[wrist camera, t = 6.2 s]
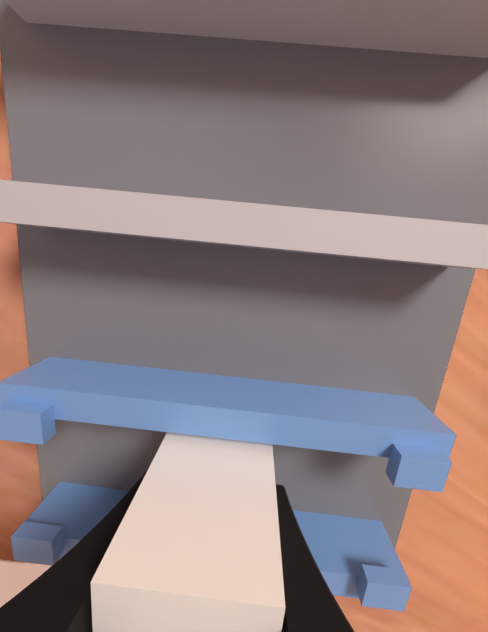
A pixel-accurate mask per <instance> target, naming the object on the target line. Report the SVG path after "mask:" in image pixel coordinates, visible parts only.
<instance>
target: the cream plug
mask: <svg viewBox="0 0 488 632" xmlns="http://www.w3.org/2000/svg"><path fill="white" fill-rule="evenodd" d="M91 605H92V629H93V632H281V631H282V625H283V620H284V614H285V595H284V583H283V570H282V558H281V545H280V533H279V520H278V508H277V495H276V483H275V470H274V458H273V445H272V444H265V443H256V442H247V441H239V440H230V439H222V438H213V437H204V436H196V435H187V434H179V433H170V432H167V434H166V436H165V437H164V439H163V441H162V443H161V445H160V447H159V449H158V451H157V453H156V455H155V457H154V459H153V461H152V463H151V465H150V467H149V469H148V471H147V473H146V475H145V477H144V479H143V481H142V483H141V484H140V486H139V488H138V490H137V492H136V494H135V496H134V498H133V500H132V502H131V504H130V506H129V508H128V510H127V512H126V514H125V516H124V518H123V520H122V522H121V524H120V526H119V528H118V530H117V531H116V533H115V535H114V537H113V539H112V541H111V543H110V545H109V547H108V549H107V551H106V553H105V555H104V557H103V559H102V561H101V563H100V565H99V567H98V569H97V571H96V573H95V575H94V577H93V578H92V580H91Z"/></svg>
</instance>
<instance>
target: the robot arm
mask: <svg viewBox="0 0 488 632" xmlns="http://www.w3.org/2000/svg"><path fill="white" fill-rule="evenodd" d="M147 471H148V470H147ZM147 471H146V472H145V473H144V474H143V475H142V477H141V478H140V479H139V480H138V481H137V482H136V484H135V485H134V486H133V487H132V488H131V489H130V490H129V491H128V492H127V494H126V495H125V496H124V497H123V498H122V499H121V500H120V501H119V502H118V503H117V504H116V505H115V506H114V507H113V508H112V510H111V511H110V512H109V513H108V514H107V515H106V516H105V517H104V518H103V519H102V520H101V521H100V522H99V523H98V524H97V525H96V526H95V527H94V528H93V529H92V530H91V531H90V532H89V533H88V534H86V535H85V536H84V537H83V538H82V539H81V540H80V541H79V542H78V543H77V544H76V545H75V546H74V547H73V548H72V549H71V550H70V551H68V552H67V553H66V554H65V555H64V556H63V557H62V558H61V559H59V560H58V561H57V562H56V563H55V564H54V565H53V566H51V567H50V568H49V569H48V570H47V571H46V572H44V573H43V574H42V575H41V576H40V577H38V578H37V579H36V580H35V581H34V582H32V583H31V584H30V585H28V586H27V587H26V588H25V589H24V590H22V591H21V592H20V593H19V594H17V595H16V596H15V597H14V598H12V599H11V600H10V601H8V602H7V603H6V604H5V605H3V606H2V607H1V608H0V632H93V629H92V605H91V580H92V578H93V577H94V575H95V573H96V571H97V569H98V567H99V565H100V563H101V561H102V559H103V557H104V555H105V553H106V551H107V549H108V547H109V545H110V543H111V541H112V539H113V537H114V535H115V533H116V531H117V530H118V528H119V526H120V524H121V522H122V520H123V518H124V516H125V514H126V512H127V510H128V508H129V506H130V504H131V502H132V500H133V498H134V496H135V494H136V492H137V490H138V488H139V486H140V484H141V483H142V481H143V479H144V477H145V475H146V473H147ZM276 495H277V508H278V520H279V533H280V545H281V558H282V570H283V583H284V595H285V614H284V620H283V625H282V631H281V632H354V630H353V629H352V627H351V625H350V624H349V622H348V621H347V619H346V617H345V615H344V614H343V612H342V610H341V609H340V607H339V605H338V603H337V602H336V600H335V598H334V596H333V594H332V593H331V591H330V589H329V587H328V585H327V583H326V581H325V580H324V578H323V576H322V574H321V572H320V570H319V568H318V566H317V564H316V562H315V560H314V558H313V556H312V554H311V552H310V549H309V547H308V545H307V543H306V541H305V538H304V536H303V534H302V532H301V530H300V527H299V525H298V522H297V520H296V517H295V515H294V512H293V510H292V507H291V505H290V502H289V499H288V496H287V493H286V490H285V487H284V486H283V485H277V484H276Z"/></svg>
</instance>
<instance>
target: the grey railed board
mask: <svg viewBox="0 0 488 632" xmlns="http://www.w3.org/2000/svg"><path fill="white" fill-rule="evenodd" d="M0 52H1V63H2V74H3V84H4V95H5V106H6V117H7V127H8V138H9V149H10V160H11V170H12V181H9V180H0V222H2V223H10V224H17V235H18V246H19V257H20V267H21V278H22V289H23V300H24V310H25V321H26V332H27V343H28V353H29V364H30V367H28V368H26V369H24V370H22V371H20V372H18V373H16V374H14V375H12V376H10V377H8V378H6V379H4V380H2V381H0V440H7V441H15V442H24V443H32V444H37V450H38V461H39V472H40V483H41V493H42V502H41V504H40V505H39V506H38V507H37V508H36V509H35V511H34V512H33V513H32V514H31V515H30V516H29V517H28V519H27V520H26V521H24V522H23V523H22V524H21V526H20V527H19V528H18V529H17V530H16V531H15V532H14V534H13V535H12V536H11V542H12V549H13V557H14V561H22V562H30V563H37V564H45V565H54V564H55V563H56V561H57V560H58V559H61V558H62V557H63V556H64V555H65V554H66V553H67V552H68V551H70V550H71V549H72V548H73V547H74V546H75V545H76V544H77V543H78V542H79V541H80V540H81V539H82V538H83V537H84V536H85V535H86V534H88V533H89V532H90V531H91V530H92V529H93V528H94V527H95V526H96V525H97V524H98V523H99V522H100V521H101V520H102V519H103V518H104V517H105V516H106V515H107V514H108V513H109V512H110V511H111V510H112V508H113V507H114V506H115V505H116V504H117V503H118V502H119V501H120V500H121V499H122V498H123V497H124V496H125V495H126V494H127V492H128V491H129V490H130V489H131V488H132V487H133V486H134V485H135V484H136V482H137V481H138V480H139V479H140V478H141V477H142V475H143V474H144V473H145V472H146V471H147V470H148V469H149V467H150V465H151V463H152V461H153V459H154V457H155V455H156V453H157V451H158V449H159V447H160V445H161V443H162V441H163V439H164V437H165V436H166V434H167V432H170V433H179V434H187V435H196V436H204V437H213V438H222V439H230V440H239V441H247V442H256V443H265V444H272V445H273V458H274V470H275V483H276V484H277V485H283V486H284V487H285V490H286V493H287V496H288V499H289V502H290V505H291V507H292V510H293V512H294V515H295V517H296V520H297V522H298V525H299V527H300V530H301V532H302V534H303V536H304V538H305V541H306V543H307V545H308V547H309V549H310V552H311V554H312V556H313V558H314V560H315V562H316V564H317V566H318V568H319V570H320V572H321V574H322V576H323V578H324V580H325V581H326V583H327V585H328V587H329V589H330V591H331V593H332V594H333V595H336V596H343V597H351V598H359V599H360V602H361V605H362V606H366V607H374V608H382V609H389V610H397V611H405V607H406V604H407V601H408V598H409V595H410V592H411V589H412V588H411V585H410V581H409V579H408V577H407V575H406V573H405V571H404V569H403V566H402V564H401V562H400V560H399V558H398V556H397V554H396V551H395V547H396V543H397V540H398V536H399V533H400V529H401V526H402V522H403V519H404V515H405V512H406V508H407V505H408V502H409V498H410V495H411V491H412V489H419V490H427V491H436V492H443V489H444V485H445V482H446V479H447V476H448V473H449V470H450V467H451V464H452V461H451V460H450V459H449V456H450V453H451V450H452V447H453V444H454V441H455V437H456V434H455V433H454V432H453V431H452V430H451V429H449V428H448V427H447V426H446V425H445V424H444V423H443V422H442V421H441V420H440V419H438V418H437V417H436V416H435V415H434V411H435V408H436V404H437V401H438V397H439V394H440V390H441V387H442V383H443V380H444V376H445V373H446V369H447V366H448V362H449V359H450V356H451V352H452V349H453V345H454V342H455V338H456V335H457V331H458V328H459V324H460V321H461V317H462V314H463V310H464V307H465V303H466V300H467V296H468V293H469V289H470V286H471V283H472V279H473V276H474V272H475V269H485V270H488V0H0Z"/></svg>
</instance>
